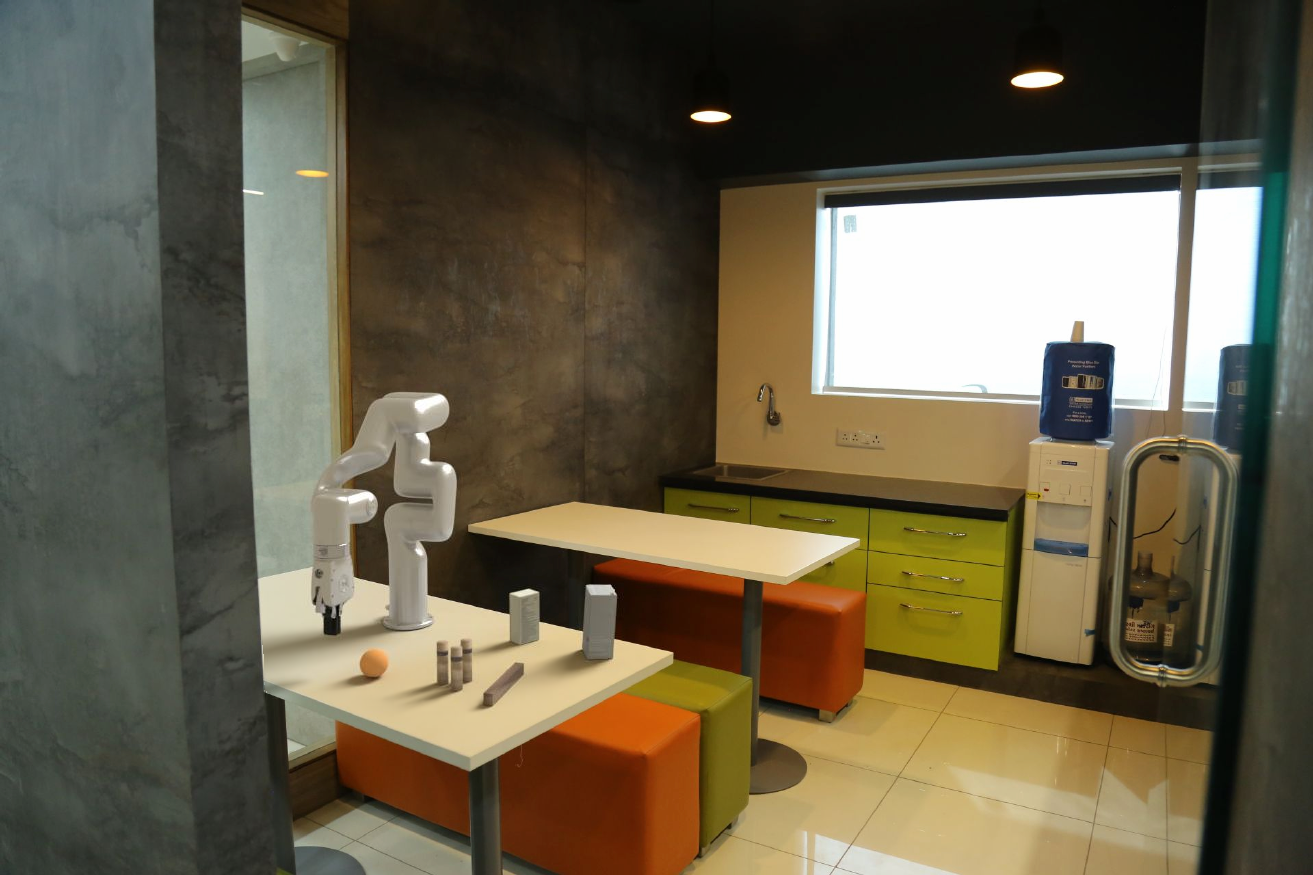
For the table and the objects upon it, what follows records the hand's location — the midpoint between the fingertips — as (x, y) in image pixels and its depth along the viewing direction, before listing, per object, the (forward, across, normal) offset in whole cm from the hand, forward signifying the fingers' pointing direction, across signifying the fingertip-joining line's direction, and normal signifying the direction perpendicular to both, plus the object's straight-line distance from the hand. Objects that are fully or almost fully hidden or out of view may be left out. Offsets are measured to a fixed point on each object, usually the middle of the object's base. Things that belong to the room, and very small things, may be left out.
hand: (332, 633), depth 191 cm
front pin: (+9, +1, -26) cm, 27 cm away
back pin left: (+9, +4, -30) cm, 31 cm away
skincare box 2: (+8, +27, -53) cm, 60 cm away
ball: (+6, +1, -10) cm, 11 cm away
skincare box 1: (+8, +31, -33) cm, 46 cm away
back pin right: (+9, -2, -30) cm, 31 cm away
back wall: (+9, +1, -40) cm, 41 cm away
